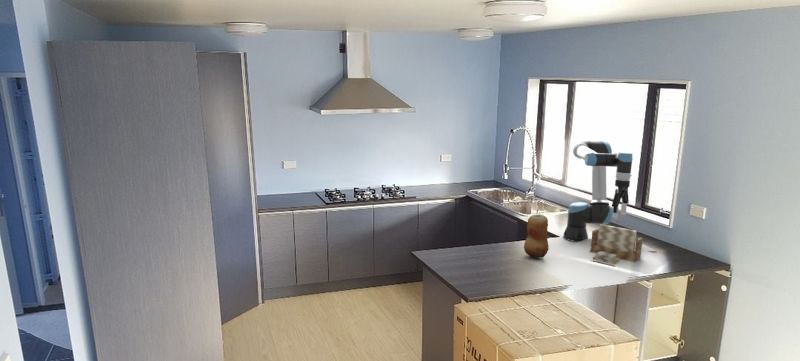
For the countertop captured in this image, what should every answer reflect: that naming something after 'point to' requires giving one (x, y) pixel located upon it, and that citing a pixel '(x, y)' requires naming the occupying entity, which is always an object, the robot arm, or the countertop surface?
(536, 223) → the butternut squash
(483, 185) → the countertop surface
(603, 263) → the grey textured block
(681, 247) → the countertop surface
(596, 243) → the oak rack
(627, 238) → the patterned board
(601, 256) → the grey mdf offcut
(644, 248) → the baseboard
